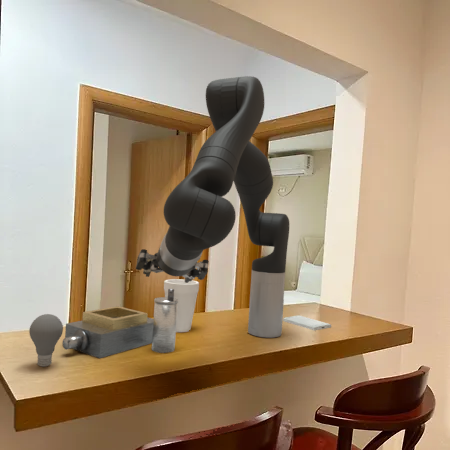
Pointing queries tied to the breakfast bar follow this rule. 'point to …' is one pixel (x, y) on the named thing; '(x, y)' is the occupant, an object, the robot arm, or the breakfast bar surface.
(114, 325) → the gearbox
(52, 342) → the light bulb
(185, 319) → the foam cup
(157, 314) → the spout can
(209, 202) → the robot arm
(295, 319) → the hard drive
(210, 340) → the breakfast bar surface
